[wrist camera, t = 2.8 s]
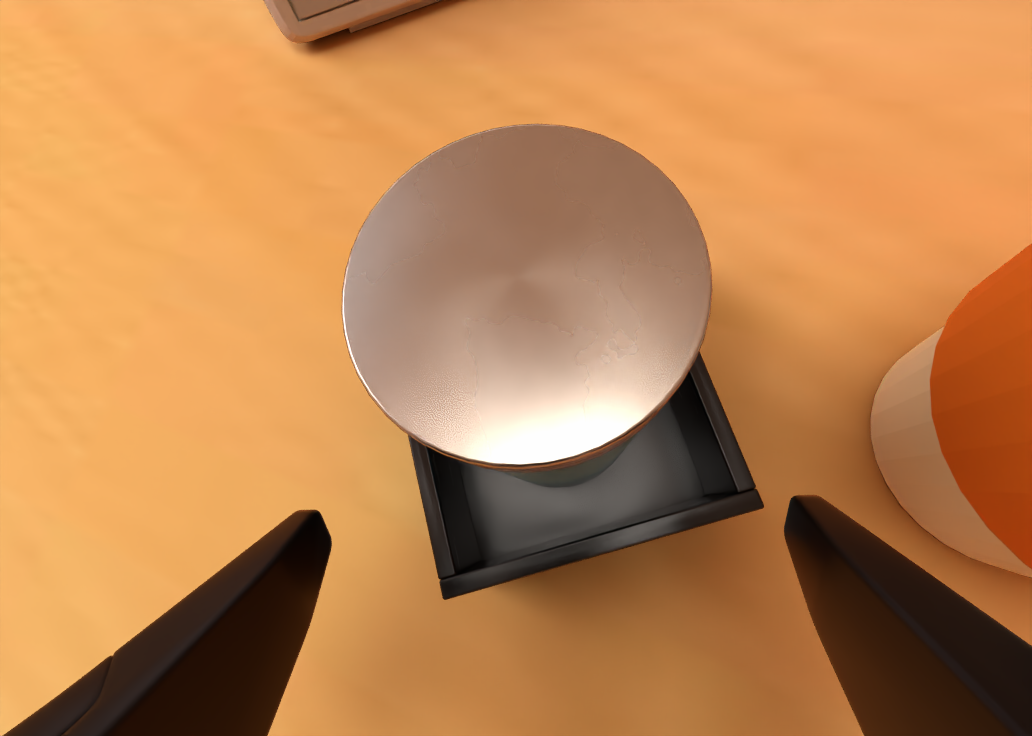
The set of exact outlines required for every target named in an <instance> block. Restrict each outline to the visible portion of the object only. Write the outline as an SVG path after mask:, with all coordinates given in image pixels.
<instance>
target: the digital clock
mask: <svg viewBox="0 0 1032 736" xmlns="http://www.w3.org/2000/svg"><path fill="white" fill-rule="evenodd" d="M263 1H264V2H265V4H266V6H267V8H268V10H269V12H270V13H271V15H272V17H273V19H274V21H275V22H276V24H277V26H278V27H279V29H280V30H281V32H282V33H283V34H284V35H285V37H286V38H287V39H289V40H290V41H292V42H295V43H306V42H310V41H313V40H316V39H319V38H322V37H324V36H327V35H330V34H333V33H335V32H338V31H341V30H344V29H347V28H349V30H350V33H352V32H354V31H357V30H360V29H363V28H366V27H368V26H371V25H374V24H377V23H380V22H382V21H385V20H388V19H391V18H393V17H396V16H399V15H402V14H405V13H407V12H410V11H413V10H416V9H418V8H421V7H424V6H427V5H430V4H432V3H435V2H438V1H441V0H263Z"/></svg>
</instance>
